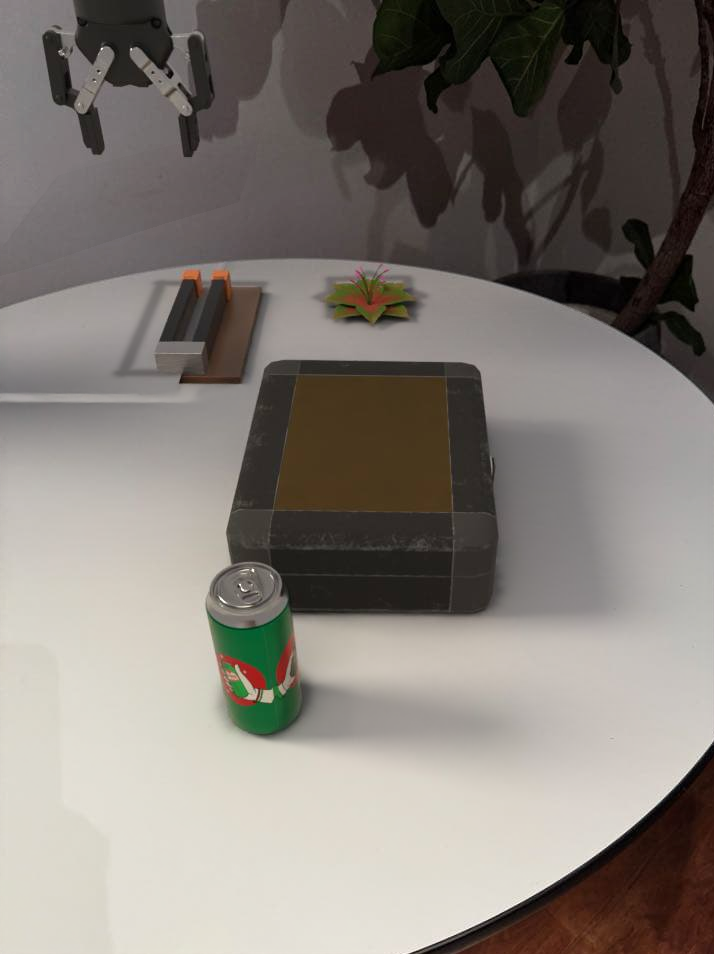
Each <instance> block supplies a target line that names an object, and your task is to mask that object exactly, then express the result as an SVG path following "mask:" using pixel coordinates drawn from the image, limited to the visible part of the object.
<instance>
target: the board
mask: <svg viewBox="0 0 714 954" xmlns="http://www.w3.org/2000/svg"><path fill="white" fill-rule="evenodd" d="M231 287H232V292H231V296H230V299H229V300H227V303H226V306H225V310H224V313H223V317H222V320H221V323H220V327H219V330H218V333H217V337H216V340H215V343H214V347H213V350H212V354H211V357H210V360H209V364H208V367H207V370H206V374H205V375H180V377H179V381H178V384H241V383H242V379H243V376H244V375H243V374H244V371H245V367H246V363H247V358H248V354H249V351H250V346H251V341H252V337H253V333H254V328H255V325H256V320H257V318H258V317H257V316H258V312H259V307H260V305H261V304H260V303H261V299H262V295H263V287H262V286H231Z"/></svg>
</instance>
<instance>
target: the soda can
mask: <svg viewBox="0 0 714 954" xmlns="http://www.w3.org/2000/svg"><path fill="white" fill-rule="evenodd" d="M208 589H209V590H208V593H207V595H206V597H205V611H206V616H207V621H208V625H209V629H210V635H211V640H212V644H213V649H214V652H215V653H214V654H215V658H216V662H217V663H216V664H217V667H218V672H219V678H220V682H221V687H222V691H223V697H224V701H225V706H226V710H227V714H228V717H229V719H230V721H231V722H232V723H233V724H234V725H235V726H236V727H237V728H238V729H241V730H242V731H243V732H248V733H250V734H256V735H265V734H272V733H276V732H278V731H280V730H282V729H284V728H286V727H288V726H289V725H290V724H291V723H292V722H293V721H294V720H295V719H296V718H297V716H298V715H299V713H300V712H301V711H300V710H301V708H302V702H303V697H302V688H301V679H300V672H299V671H300V669H299V661H298V652H297V645H296V644H297V643H296V636H295V628H294V627H295V626H294V618H293V611H292V608H291V600H290V593H289V589H288V587H287V585H286V584H285V582H284V581H283V580H282V579H281V577H280V575H279V574H278V572H277V571H276V570H275V569H273V568H272V567H270V566H268V565H266V564H263V563H258V562H242V563H237V564H233V565H231V564H230V565H228V566H227V567H225V568H223V569H222V570H220V571H218V573H217V574H215V576H214V577H213V579H212V580H211V582H210V584H209V588H208Z"/></svg>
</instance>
